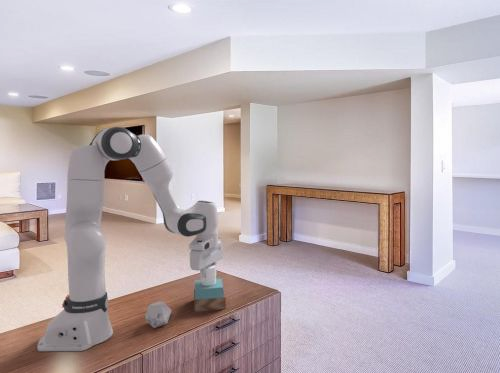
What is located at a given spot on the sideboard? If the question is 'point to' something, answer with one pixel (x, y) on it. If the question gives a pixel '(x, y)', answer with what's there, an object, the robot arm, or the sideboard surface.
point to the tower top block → (208, 290)
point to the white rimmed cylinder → (209, 275)
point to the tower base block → (209, 303)
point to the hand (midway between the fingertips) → (208, 274)
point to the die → (158, 314)
